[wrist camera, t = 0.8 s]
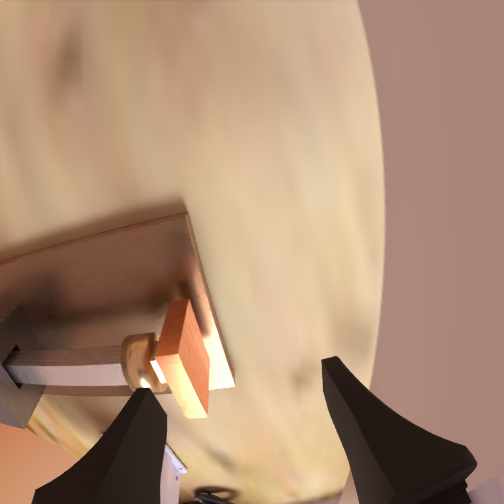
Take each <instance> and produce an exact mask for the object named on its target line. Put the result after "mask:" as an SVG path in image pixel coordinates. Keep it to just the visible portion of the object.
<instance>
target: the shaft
mask: <svg viewBox="0 0 504 504" xmlns="http://www.w3.org/2000/svg"><path fill="white" fill-rule="evenodd" d="M2 366H3V367H4V369H5V370H6V372H7V373H8V375H9V376H10V378H11V379H12V380H13V382H14V383H25V384H39V385H60V386H117V385H128V386H129V387H130V389H131V390H132V391H134V392H135V390H136V389H137V388H146V387H150V389H151V391H152V392H163V391H165V390H166V389H167V387H168V385H169V387H170V389H171V391H172V393H173V395H174V396H175V398H176V400H177V402H178V404H179V405H180V407H181V409H182V411H183V412H184V414H185V416H186V418H187V419H188V418H200V417H207V413H208V391H209V372H210V358H209V355H208V352H207V349H206V347H205V344H204V341H203V338H202V335H201V332H200V330H199V327H198V324H197V321H196V318H195V315H194V312H193V309H192V306H191V303H190V300H189V299H183V300H178V301H172V302H170V304H169V308H168V311H167V314H166V317H165V321H164V324H163V327H162V331H161V334H160V336H159V335H158V334H157V333H155V332H151V333H143V334H135V335H128V336H126V337H125V339H124V340H123V342H122V345H115V346H104V347H92V348H79V349H63V350H42V351H11V352H10V354H9V355H8V356H7V358H6V359H5V360H4V362H3V363H2Z"/></svg>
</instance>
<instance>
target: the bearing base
mask: <svg viewBox="0 0 504 504" xmlns="http://www.w3.org/2000/svg"><path fill="white" fill-rule="evenodd" d="M183 299H189V300H190V303H191V306H192V309H193V312H194V315H195V318H196V321H197V324H198V327H199V330H200V332H201V335H202V338H203V341H204V344H205V347H206V349H207V352H208V355H209V358H210V372H209V390H212V389H220V388H227V387H234V386H235V375H234V372H233V369H232V366H231V363H230V360H229V357H228V353H227V350H226V347H225V344H224V341H223V337H222V334H221V331H220V327H219V324H218V321H217V317H216V314H215V311H214V307H213V304H212V300H211V297H210V293H209V290H208V286H207V283H206V279H205V275H204V272H203V268H202V264H201V261H200V257H199V253H198V250H197V246H196V242H195V238H194V234H193V230H192V226H191V222H190V218H189V214H188V212H187V213H183V214H178V215H174V216H169V217H165V218H161V219H156V220H152V221H148V222H144V223H140V224H136V225H131V226H127V227H123V228H119V229H116V230H112V231H108V232H104V233H100V234H96V235H92V236H89V237H85V238H81V239H78V240H74V241H71V242H67V243H63V244H60V245H56V246H53V247H50V248H46V249H43V250H39V251H36V252H33V253H29V254H26V255H23V256H20V257H17V258H13V259H10V260H7V261H4V262H1V263H0V423H3V424H6V425H10V426H14V427H18V428H23V429H25V428H26V426H27V424H28V422H29V420H30V418H31V415H32V413H33V411H34V409H35V408H36V406H37V404H38V402H39V400H40V398H41V396H42V394H53V395H71V396H132V394H133V393H134V391H132V390H131V389H130V387H129V386H128V385H117V386H60V385H39V384H25V383H14V382H13V380H12V379H11V378H10V376H9V375H8V373H7V372H6V370H5V369H4V367H3V366H2V363H3V362H4V360H5V359H6V358H7V356H8V355H9V354H10V352H11V351H42V350H63V349H79V348H92V347H104V346H115V345H122V342H123V340H124V339H125V337H126V336H128V335H135V334H143V333H151V332H155V333H157V334H158V335H159V336H160V334H161V331H162V327H163V324H164V321H165V317H166V314H167V311H168V308H169V304H170V302H172V301H178V300H183ZM153 394H154V395H158V394H172V391H171V389H170V387H169V385H168V387H167V389H166V390H165V391H163V392H153Z"/></svg>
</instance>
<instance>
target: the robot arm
mask: <svg viewBox="0 0 504 504" xmlns="http://www.w3.org/2000/svg"><path fill="white" fill-rule="evenodd" d="M321 362H322V378H323V392H324V396H325V400H326V403H327V407H328V410H329V413H330V416H331V418H332V421H333V423H334V426H335V428H336V430H337V433H338V435H339V438H340V440H341V443H342V445H343V448H344V450H345V452H346V455H347V458H348V461H349V465H350V468H351V472H352V476H353V479H354V483H355V487H356V491H357V495H358V500H359V504H504V485H503V483H502V482H501V480H500V478H499V476H498V475H497V474H495V475H494V476H492V477H491V478H490V479H488V480H487V481H485V482H484V483H482V484H481V485H479V486H478V487H476V488H475V489H473V490H472V491H470V492H469V493H467V491H466V488H467V486H468V485H467V483H466V481H465V479H466V478H467V477H468V476H469V475H470V474H471V473H472V472H473V471H474V469H475V468H476V466H477V462H476V460H475V458H474V457H473V455H472V453H471V452H470V451H469V450H468V448H467V447H466V446H463V445H461V444H457V443H454V442H452V441H449V440H446V439H444V438H441V437H439V436H437V435H434V434H432V433H430V432H428V431H426V430H424V429H423V428H421V427H419V426H417V425H415V424H413V423H411V422H410V421H408V420H407V419H405V418H403V417H402V416H400V415H399V414H398V413H396V412H395V411H393V410H392V409H391V408H389V407H388V406H387V405H385V404H384V403H383V402H382V401H381V400H379V399H378V398H377V397H376V396H375V395H373V394H372V393H371V392H370V391H369V390H368V389H367V388H366V387H365V386H364V385H363V384H362V383H361V382H360V381H359V380H358V379H357V378H356V377H355V376H354V375H353V374H352V373H351V372H350V371H349V369H348V368H347V367H346V366H345V365H344V364H343V362H342V361H341V360H340V359H339V357H337V356H334V357H330V358H326V359H322V360H321ZM100 437H101V438H100V439H99V441H98V442H97V443H96V444H95V445H94V446H93V447H92V448H91V449H90V450H89V451H88V452H87V453H86V454H85V455H84V456H83V457H82V458H81V459H80V460H79V461H78V462H77V463H75V464H74V465H73V466H72V467H71V468H70V469H68V470H67V471H66V472H64V473H63V474H62V475H60V476H59V477H57V478H56V479H54V480H53V481H51V482H49V483H47V484H45V485H44V486H42V487H40V488H38V489H36V490H35V494H34V497H33V500H32V503H31V504H178V503H179V487H180V474H181V473H187V471H188V470H187V469H186V468H185V466H184V465H183V464H182V463H181V462H180V461H179V459H178V458H177V457H176V456H175V454H174V453H173V452H172V451H171V449H170V448H169V447H168V446H167V444H166V438H167V414H166V413H165V411H164V410H163V408H162V407H161V405H160V403H159V402H158V400H157V399H156V397H155V396H154V394H153V392H152V391H151V389H150V387H146V388H137V389H136V390H135V392H134V393H133V394H132V396H131V397H130V399H129V400H128V402H127V403H126V405H125V406H124V407H123V409H122V410H121V412H120V413H119V414H118V416H117V417H116V419H115V420H114V421H113V423H112V424H111V426H110V427H109V428H108V429H107V431H106V432H105V433H104V434H101V436H100Z"/></svg>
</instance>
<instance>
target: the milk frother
mask: <svg viewBox="0 0 504 504" xmlns="http://www.w3.org/2000/svg"><path fill="white" fill-rule="evenodd" d="M194 498H195V500H197V501H198V502H200V503H186V504H233V503H231V502H228V501H226V500H223V499H221V498H220V497H218V496H215V495H212V494H211V493H210V492H208V494H196V495H195V497H194Z"/></svg>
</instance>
